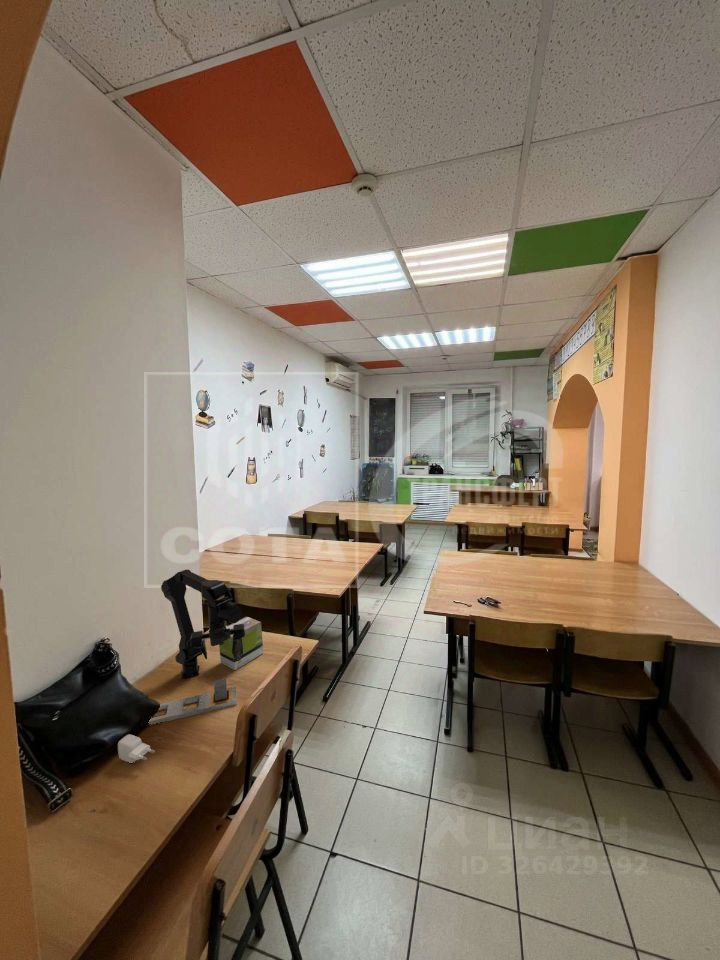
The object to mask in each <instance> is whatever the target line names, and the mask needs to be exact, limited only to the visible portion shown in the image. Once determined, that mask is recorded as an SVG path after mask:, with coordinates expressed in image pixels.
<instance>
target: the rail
mask: <svg viewBox="0 0 720 960" xmlns="http://www.w3.org/2000/svg"><path fill="white" fill-rule="evenodd" d="M236 688H237V686H234V687H227V696H228V699H227V700H224V701H220V702H216V703H215V693H214V690H212V691H210V692H208V693H202V694H199V695H194V696H190V697H189V696H188V697H185V698H181V699H175V700H171V701H167V702H163V703H159V704H160V711H163V710H162V709H164V710H166V713H165V714H164V715H159V716H155V717H154V716H153V717H151V719H150V720H149V722H148V723H149V724H154V725H157V724H156V723H158V724H161V723H160V722H163V723H166V722H165V721H167V722H169V721H174V720H178V719H182V718H183V719H184V718H187V717H191V716H195V715H200V714H204V713H208V712H212V711H216V710H220V709H224V708H225V709H226V708H229V707H234V706H237V689H236ZM193 703H198V706H197V707H194V708H189V709H184V707H185V706H186V705H190V704H193Z"/></svg>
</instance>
